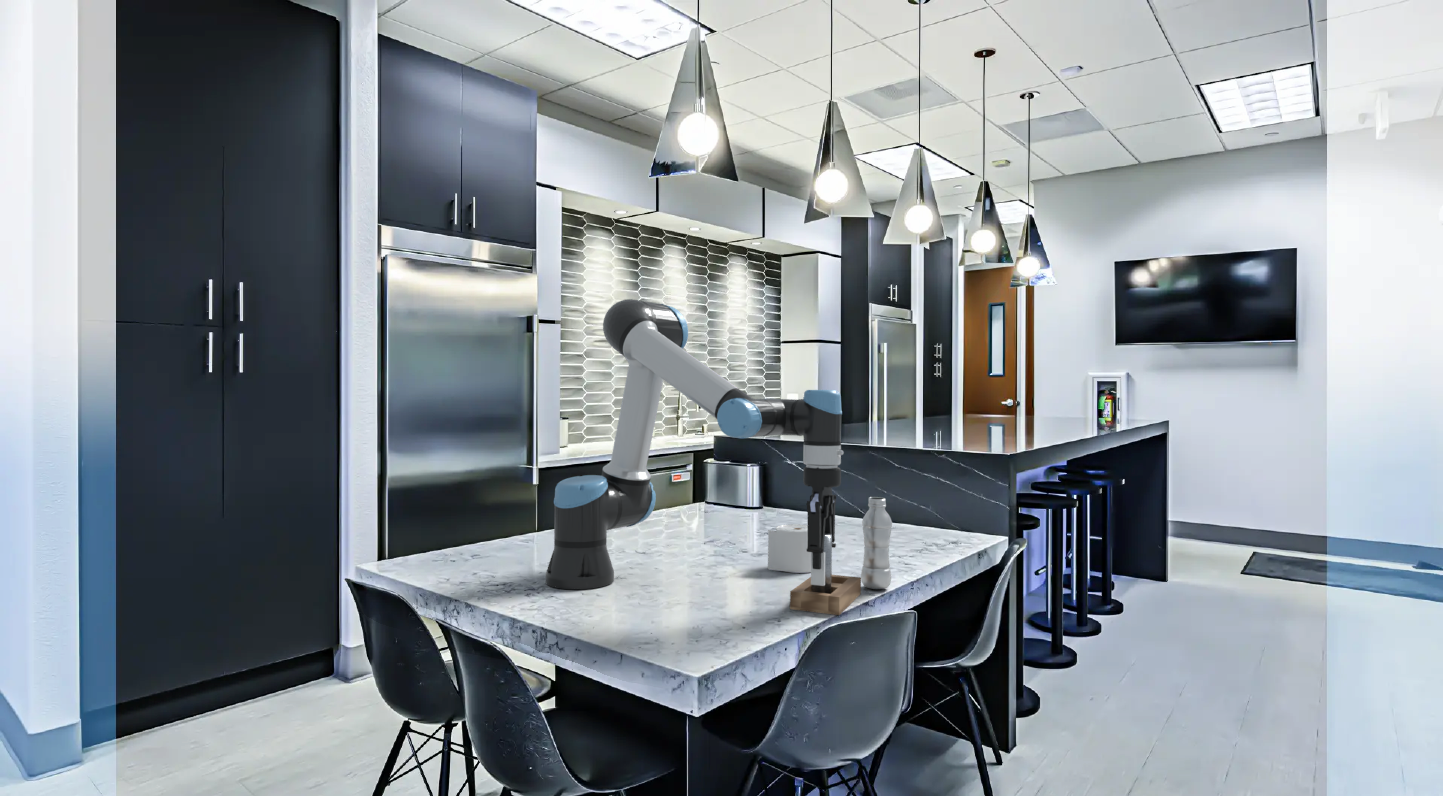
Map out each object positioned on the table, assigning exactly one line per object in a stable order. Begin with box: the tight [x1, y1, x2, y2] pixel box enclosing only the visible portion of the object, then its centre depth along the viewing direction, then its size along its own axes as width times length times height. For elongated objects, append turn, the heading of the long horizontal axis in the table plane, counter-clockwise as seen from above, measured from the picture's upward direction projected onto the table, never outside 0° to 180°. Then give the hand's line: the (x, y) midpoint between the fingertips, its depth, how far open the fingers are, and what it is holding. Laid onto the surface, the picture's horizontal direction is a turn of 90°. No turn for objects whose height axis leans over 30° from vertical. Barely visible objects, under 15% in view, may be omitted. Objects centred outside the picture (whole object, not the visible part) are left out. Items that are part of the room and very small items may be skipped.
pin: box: [811, 533, 833, 594], centre depth 157 cm, size 4×4×12 cm
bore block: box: [789, 574, 862, 616], centre depth 161 cm, size 10×18×4 cm, turn 157°
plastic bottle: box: [860, 496, 893, 590], centre depth 172 cm, size 6×7×20 cm
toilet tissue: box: [767, 523, 811, 574], centre depth 191 cm, size 11×12×10 cm
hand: (821, 581), depth 157 cm, fingers closed on pin, 4 cm apart
